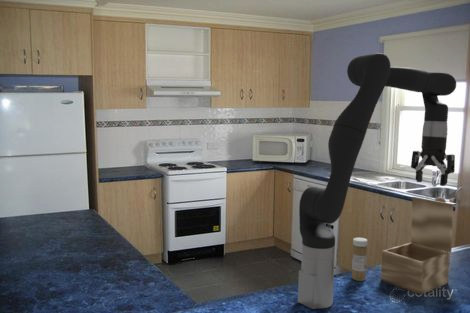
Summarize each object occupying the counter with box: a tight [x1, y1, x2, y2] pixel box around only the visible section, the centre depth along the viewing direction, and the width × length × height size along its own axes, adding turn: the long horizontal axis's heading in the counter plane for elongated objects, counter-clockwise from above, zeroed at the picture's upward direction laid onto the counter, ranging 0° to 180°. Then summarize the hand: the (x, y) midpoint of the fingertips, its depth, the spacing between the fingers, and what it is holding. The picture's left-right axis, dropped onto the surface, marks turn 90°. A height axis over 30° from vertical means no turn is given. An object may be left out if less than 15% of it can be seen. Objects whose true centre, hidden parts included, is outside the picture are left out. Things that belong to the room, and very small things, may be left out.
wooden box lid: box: [410, 196, 454, 254], centre depth 157 cm, size 16×14×7 cm
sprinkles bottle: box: [351, 237, 369, 282], centre depth 154 cm, size 5×5×13 cm
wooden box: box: [380, 242, 451, 295], centre depth 152 cm, size 16×14×10 cm
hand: (430, 183), depth 157 cm, fingers open, 8 cm apart
